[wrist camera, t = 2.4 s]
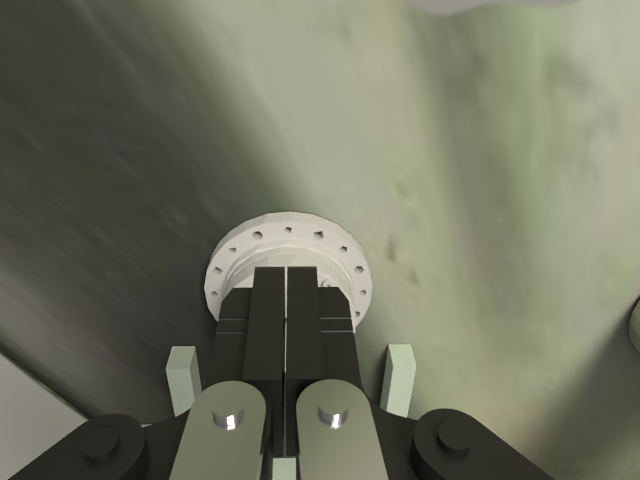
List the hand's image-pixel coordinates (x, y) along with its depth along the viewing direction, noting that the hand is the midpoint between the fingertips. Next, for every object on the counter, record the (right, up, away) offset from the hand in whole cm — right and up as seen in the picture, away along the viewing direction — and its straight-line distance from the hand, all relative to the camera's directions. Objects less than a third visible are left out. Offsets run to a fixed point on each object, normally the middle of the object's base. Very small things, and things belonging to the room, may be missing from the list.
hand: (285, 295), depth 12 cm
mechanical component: (-1, -1, +18) cm, 19 cm away
